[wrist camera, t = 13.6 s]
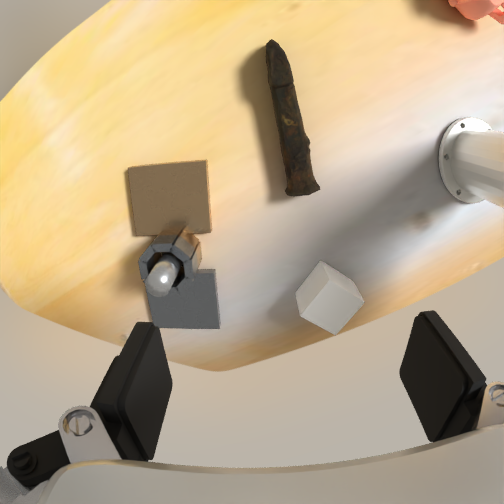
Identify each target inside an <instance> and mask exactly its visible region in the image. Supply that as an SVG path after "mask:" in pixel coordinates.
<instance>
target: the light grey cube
mask: <svg viewBox="0 0 504 504" xmlns="http://www.w3.org/2000/svg"><path fill="white" fill-rule="evenodd" d="M295 295H296V300H297V305H298V309H299V314H300V317H302V318H304V319H306V320H308V321H310V322H312V323H313V324H315V325H317V326H319V327H321V328H323V329H325V330H326V331H328V332H330V333H332V334H334V335H336V334H337V333H338V332H339V331H340V330H341V329H342V328H343V327H344V325H345V324H346V323H347V322H348V321H349V320H350V319H351V318H352V316H353V315H354V314H355V313H356V312H357V311H358V310H359V308H360V307H361V306H362V305H363V304H364V303H365V301H364V300H363V298H362V296H361V294H360V293H359V291H358V289H357V287H356V285H355V284H354V282H353V281H352V280H351V279H349V278H348V277H346V276H345V275H343V274H342V273H340V272H338V271H337V270H335V269H334V268H332V267H331V266H329V265H328V264H326V263H324V262H323V261H321V260H320V262H319V263H318V264H317V265H316V267H315V268H314V269H313V271H312V272H311V273H310V275H309V276H308V277H307V278H306V280H305V281H304V282H303V283H302V285H301V286H300V287H299V289H298V290H297V291H296V292H295Z"/></svg>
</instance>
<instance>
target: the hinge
mask: <svg viewBox="0 0 504 504" xmlns="http://www.w3.org/2000/svg"><path fill="white" fill-rule="evenodd" d="M128 174H129V183H130V192H131V200H132V208H133V215H134V222H135V229H136V236H139V235H158V236H157V237H156V238H155V239H154V241H153V242H152V243H151V244H150V246H149V247H148V248H147V249H146V251H145V252H144V253H143V254H142V256H141V257H140V258H139V261H138V263H139V268H140V274H141V279H144V281H143V282H144V283H145V281H146V278H147V277H148V275H149V274H150V272H151V271H152V269H153V268H154V266H155V265H156V263H157V262H158V260H159V259H160V258H161V252H172V253H173V254H174V255H175V256H176V257H178V258H179V259H180V260H181V261H182V262H184V266H182V267H181V268H180V270H179V272H178V274H177V276H176V278H175V280H174V282H173V285H172V287H171V289H170V291H169V293H168V294H167V295H165V296H163V297H156V296H153V295H152V294H150V293H149V292H148V291H147V289H146V292H147V297H148V301H149V306H150V311H151V315H152V320H153V323H154V325H155V326H158V327H159V328H185V329H220V314H219V304H218V294H217V283H216V272H215V269H201V270H198V267H199V265H200V262H201V259H202V256H201V246H200V242H198V241H199V239H198V238H196V237H195V236H194V235H193V234H192V233H211V231H212V223H211V210H210V195H209V180H208V164H207V160H196V161H183V162H171V163H160V164H149V165H140V166H131V167H129V168H128ZM145 287H146V286H145Z"/></svg>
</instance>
